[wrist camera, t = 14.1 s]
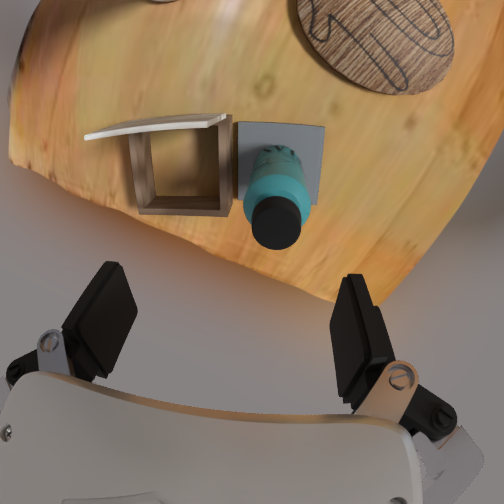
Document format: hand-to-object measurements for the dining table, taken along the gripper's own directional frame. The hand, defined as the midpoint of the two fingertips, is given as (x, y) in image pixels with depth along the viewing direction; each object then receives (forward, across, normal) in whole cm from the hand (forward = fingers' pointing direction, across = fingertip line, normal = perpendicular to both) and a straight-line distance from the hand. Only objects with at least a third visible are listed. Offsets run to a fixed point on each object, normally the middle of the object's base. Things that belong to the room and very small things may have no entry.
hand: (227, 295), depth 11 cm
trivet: (+32, -17, -22) cm, 42 cm away
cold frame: (+31, +11, +3) cm, 33 cm away
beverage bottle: (+30, -2, +3) cm, 31 cm away
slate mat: (+31, -3, +3) cm, 31 cm away
